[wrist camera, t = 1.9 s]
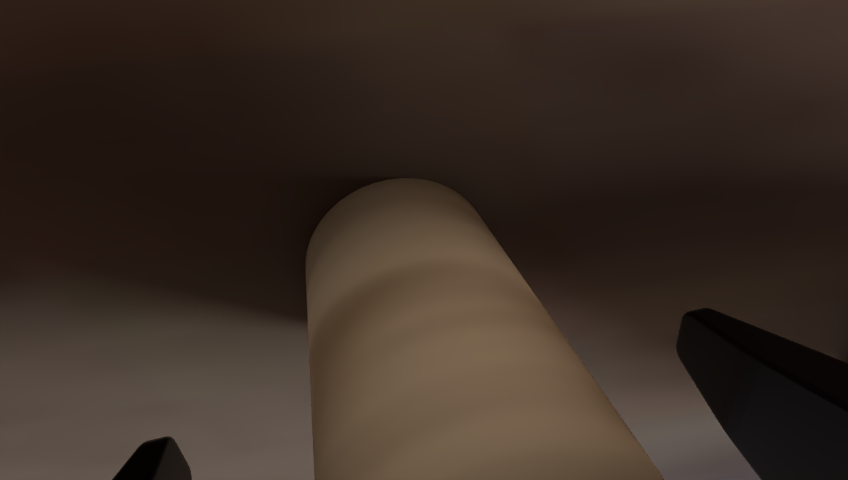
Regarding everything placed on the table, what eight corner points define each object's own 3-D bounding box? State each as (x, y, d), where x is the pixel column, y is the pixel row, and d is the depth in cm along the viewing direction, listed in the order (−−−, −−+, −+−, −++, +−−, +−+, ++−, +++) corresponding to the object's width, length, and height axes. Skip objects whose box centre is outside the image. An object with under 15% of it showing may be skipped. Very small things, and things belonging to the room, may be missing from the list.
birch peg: (490, 314, 13) (644, 600, 8) (326, 352, 13) (355, 695, 7) (484, 161, 11) (699, 400, 5) (284, 198, 11) (276, 514, 5)
